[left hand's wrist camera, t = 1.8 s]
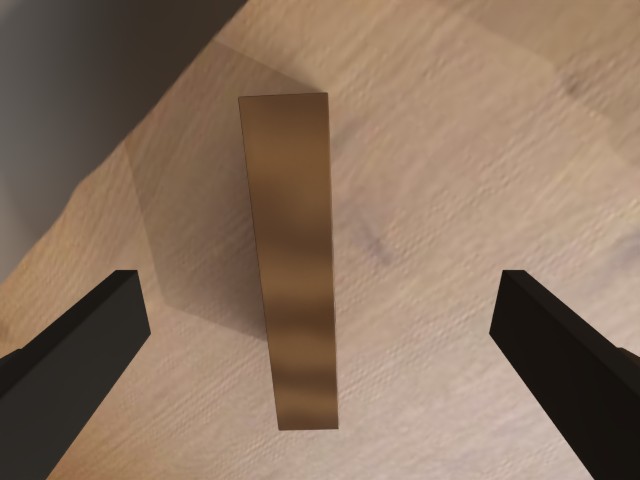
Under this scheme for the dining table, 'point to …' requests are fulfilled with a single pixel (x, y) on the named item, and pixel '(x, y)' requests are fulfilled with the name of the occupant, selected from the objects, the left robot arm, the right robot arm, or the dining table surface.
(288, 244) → the bar
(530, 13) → the dining table surface
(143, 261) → the dining table surface
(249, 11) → the dining table surface
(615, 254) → the dining table surface
